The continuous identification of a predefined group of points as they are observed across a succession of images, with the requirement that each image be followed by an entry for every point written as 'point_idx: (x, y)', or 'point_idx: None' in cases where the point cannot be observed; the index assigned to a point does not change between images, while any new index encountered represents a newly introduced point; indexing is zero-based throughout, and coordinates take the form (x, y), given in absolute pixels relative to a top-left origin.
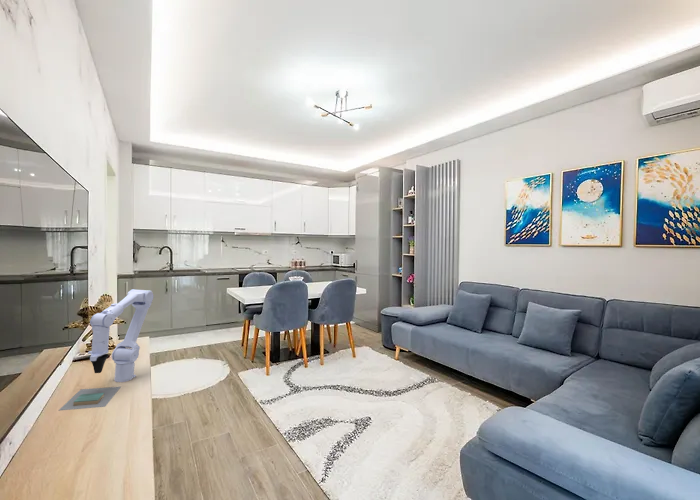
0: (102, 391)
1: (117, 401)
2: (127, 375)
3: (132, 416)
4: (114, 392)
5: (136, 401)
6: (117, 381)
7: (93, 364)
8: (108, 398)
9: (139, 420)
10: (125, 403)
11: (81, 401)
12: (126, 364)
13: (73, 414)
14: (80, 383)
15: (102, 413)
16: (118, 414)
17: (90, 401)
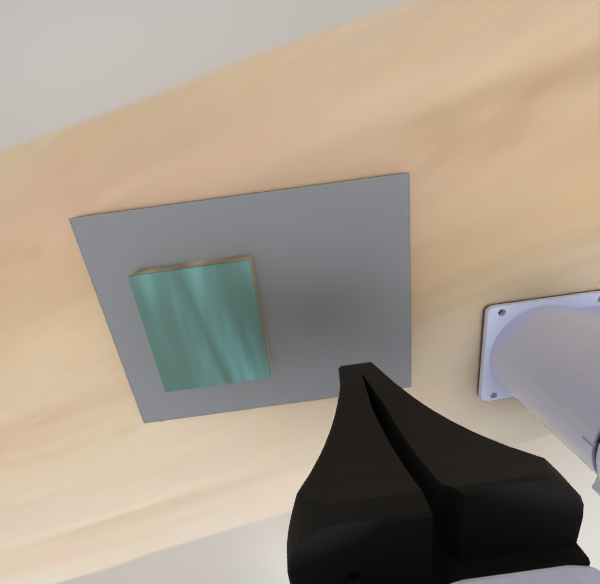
0: (348, 325)
1: (233, 430)
2: (524, 404)
3: (86, 533)
4: (326, 390)
5: (232, 498)
6: (499, 339)
7: (329, 443)
8: (244, 396)
9: (57, 562)
10: (210, 468)
11: (142, 316)
12: (593, 466)
13: (68, 310)
14: (565, 87)
15: (97, 427)
16: (96, 485)
17: (157, 357)
